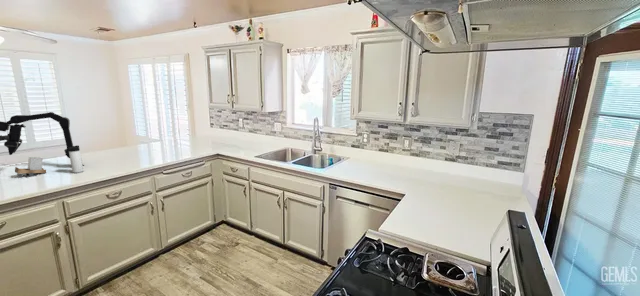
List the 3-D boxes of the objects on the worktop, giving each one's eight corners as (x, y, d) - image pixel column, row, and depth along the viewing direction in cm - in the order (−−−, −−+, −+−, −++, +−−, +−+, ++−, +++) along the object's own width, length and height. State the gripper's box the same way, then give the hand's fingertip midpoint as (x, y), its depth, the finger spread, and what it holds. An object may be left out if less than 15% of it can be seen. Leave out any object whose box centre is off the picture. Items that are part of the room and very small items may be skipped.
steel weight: (39, 169, 208) (40, 157, 208) (41, 170, 205) (42, 158, 204) (27, 169, 203) (28, 157, 203) (30, 170, 200) (31, 158, 199)
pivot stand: (42, 171, 212) (41, 168, 211) (47, 173, 206) (46, 170, 205) (16, 175, 200) (15, 172, 200) (20, 178, 194) (19, 175, 194)
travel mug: (86, 171, 213) (81, 145, 209) (78, 173, 207) (73, 147, 203) (78, 170, 214) (74, 145, 210) (70, 173, 207) (65, 147, 203)
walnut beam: (42, 171, 211) (43, 166, 210) (45, 173, 206) (46, 168, 206) (14, 172, 198) (15, 167, 198) (17, 174, 194) (18, 168, 194)
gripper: (1, 129, 203) (-2, 150, 204) (-6, 132, 188) (-9, 154, 189) (23, 131, 210) (20, 152, 211) (18, 134, 196) (15, 156, 196)
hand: (12, 153), depth 202 cm, fingers open, 9 cm apart
